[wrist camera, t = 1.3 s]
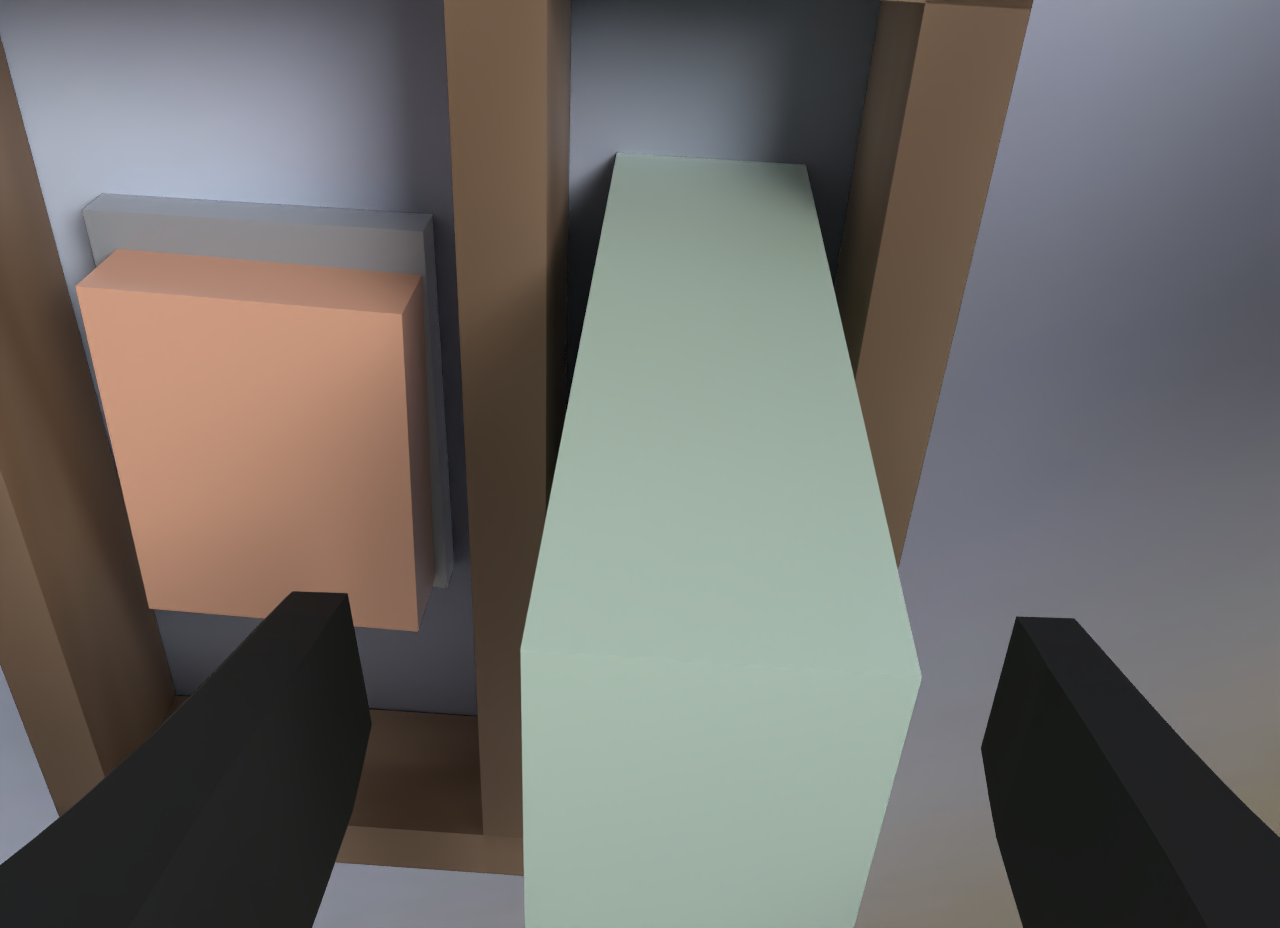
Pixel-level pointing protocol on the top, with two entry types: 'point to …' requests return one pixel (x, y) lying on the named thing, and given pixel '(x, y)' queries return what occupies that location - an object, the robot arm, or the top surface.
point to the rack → (472, 403)
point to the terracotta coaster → (267, 431)
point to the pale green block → (711, 579)
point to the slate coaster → (303, 241)
